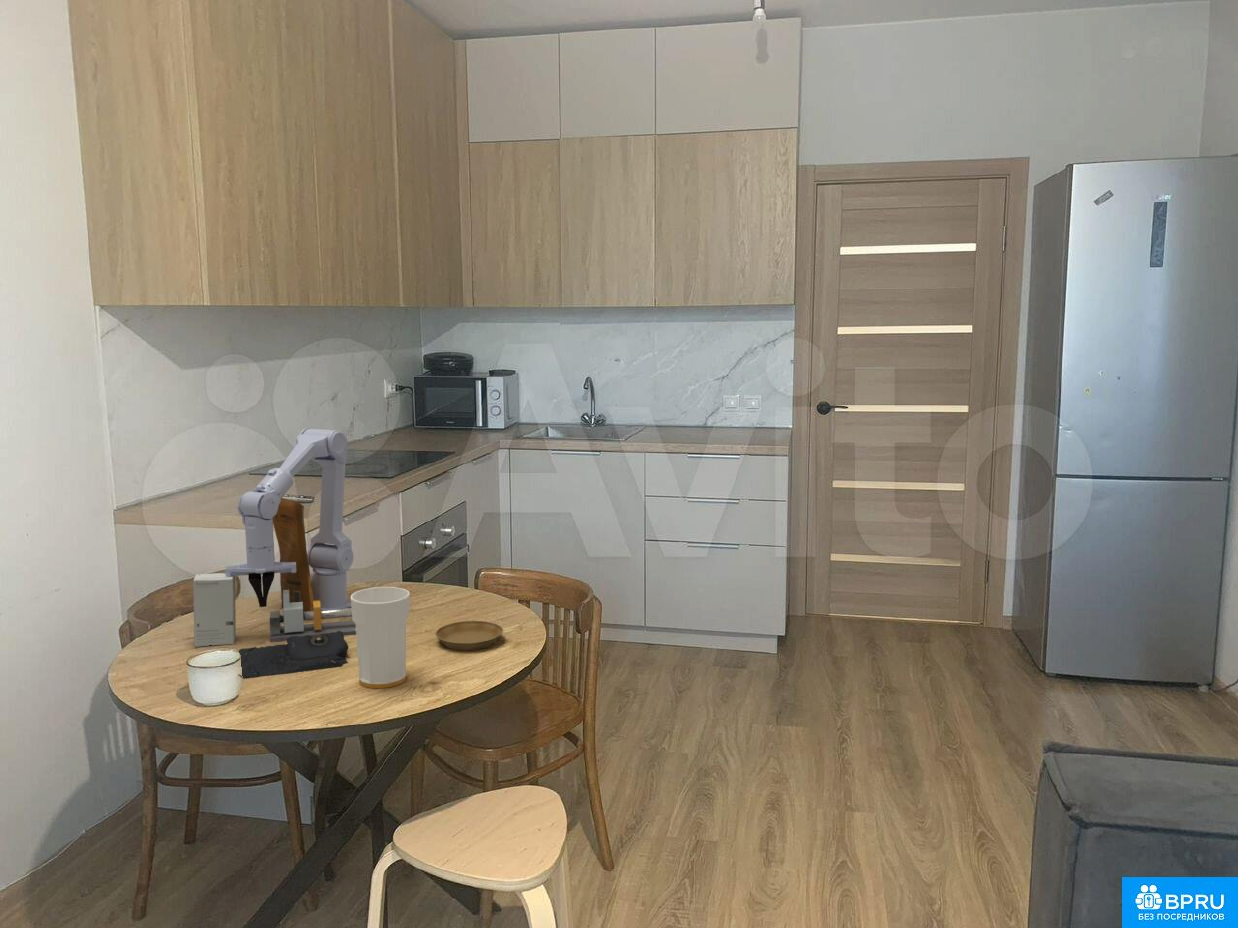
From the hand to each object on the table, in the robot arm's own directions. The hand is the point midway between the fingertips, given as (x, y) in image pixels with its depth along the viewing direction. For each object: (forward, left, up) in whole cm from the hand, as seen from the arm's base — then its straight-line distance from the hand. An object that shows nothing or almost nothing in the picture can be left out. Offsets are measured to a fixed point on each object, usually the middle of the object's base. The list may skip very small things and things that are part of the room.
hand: (263, 605), depth 212 cm
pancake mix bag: (-13, +15, -7) cm, 21 cm away
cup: (+40, +3, -7) cm, 41 cm away
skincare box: (-5, -9, -7) cm, 12 cm away
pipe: (+7, +12, -7) cm, 16 cm away
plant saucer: (+35, +29, -8) cm, 47 cm away
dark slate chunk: (+18, -3, -8) cm, 20 cm away
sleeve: (+3, +5, -6) cm, 9 cm away
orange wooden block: (+6, +10, -6) cm, 13 cm away
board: (+7, +12, -7) cm, 16 cm away
